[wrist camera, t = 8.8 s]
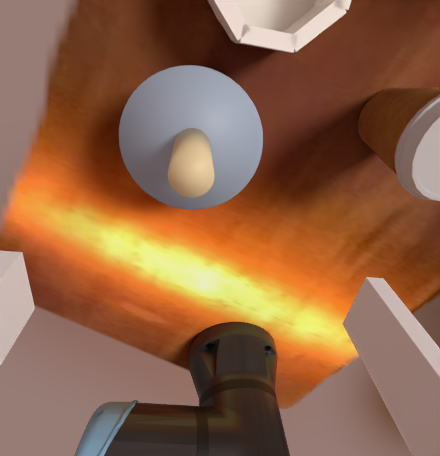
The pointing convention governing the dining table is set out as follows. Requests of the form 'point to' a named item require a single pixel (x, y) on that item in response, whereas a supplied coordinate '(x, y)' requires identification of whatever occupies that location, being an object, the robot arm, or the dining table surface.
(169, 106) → the lid
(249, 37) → the bowl
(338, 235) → the dining table surface
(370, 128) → the disposable coffee cup
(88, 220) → the dining table surface
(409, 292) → the dining table surface
